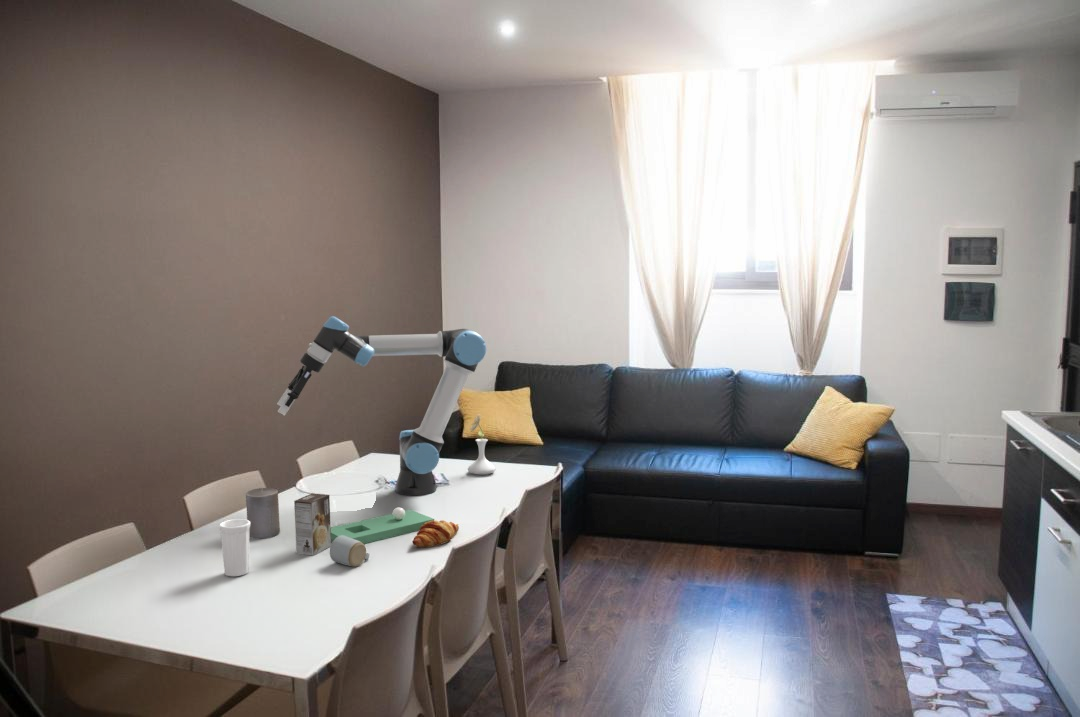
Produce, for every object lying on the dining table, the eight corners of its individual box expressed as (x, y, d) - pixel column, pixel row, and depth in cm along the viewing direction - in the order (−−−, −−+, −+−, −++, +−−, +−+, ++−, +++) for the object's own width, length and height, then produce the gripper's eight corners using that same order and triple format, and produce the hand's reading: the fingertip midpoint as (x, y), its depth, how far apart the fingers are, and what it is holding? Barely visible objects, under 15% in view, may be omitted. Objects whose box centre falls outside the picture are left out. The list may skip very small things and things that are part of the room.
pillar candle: (267, 527, 276) (264, 482, 274) (286, 532, 270) (284, 486, 269) (241, 535, 268) (238, 489, 266) (260, 541, 263) (258, 493, 261)
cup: (222, 580, 230) (220, 529, 228) (220, 570, 237) (218, 520, 236) (253, 576, 233) (251, 525, 232) (251, 566, 241) (249, 517, 239)
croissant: (450, 540, 274) (441, 517, 276) (473, 530, 269) (463, 507, 271) (407, 558, 256) (398, 533, 258) (431, 548, 251) (421, 523, 253)
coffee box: (313, 543, 260) (312, 492, 258) (331, 546, 258) (330, 494, 256) (295, 553, 252) (293, 500, 250) (313, 556, 249) (312, 502, 248)
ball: (400, 517, 279) (400, 505, 279) (407, 519, 276) (407, 507, 276) (390, 519, 277) (390, 507, 276) (397, 522, 274) (396, 510, 273)
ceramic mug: (350, 570, 238) (349, 543, 237) (329, 565, 242) (328, 538, 241) (376, 560, 247) (376, 534, 246) (355, 555, 251) (355, 529, 250)
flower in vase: (471, 469, 354) (470, 409, 351) (498, 470, 352) (497, 410, 349) (463, 477, 341) (463, 415, 338) (491, 478, 339) (491, 416, 336)
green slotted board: (410, 516, 288) (410, 509, 288) (434, 526, 277) (434, 519, 277) (323, 536, 267) (323, 529, 266) (346, 548, 256) (345, 540, 256)
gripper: (304, 347, 303) (270, 397, 302) (307, 356, 280) (271, 411, 279) (322, 358, 306) (289, 408, 305) (327, 368, 282) (291, 422, 281)
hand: (280, 409), depth 292 cm, fingers open, 13 cm apart
